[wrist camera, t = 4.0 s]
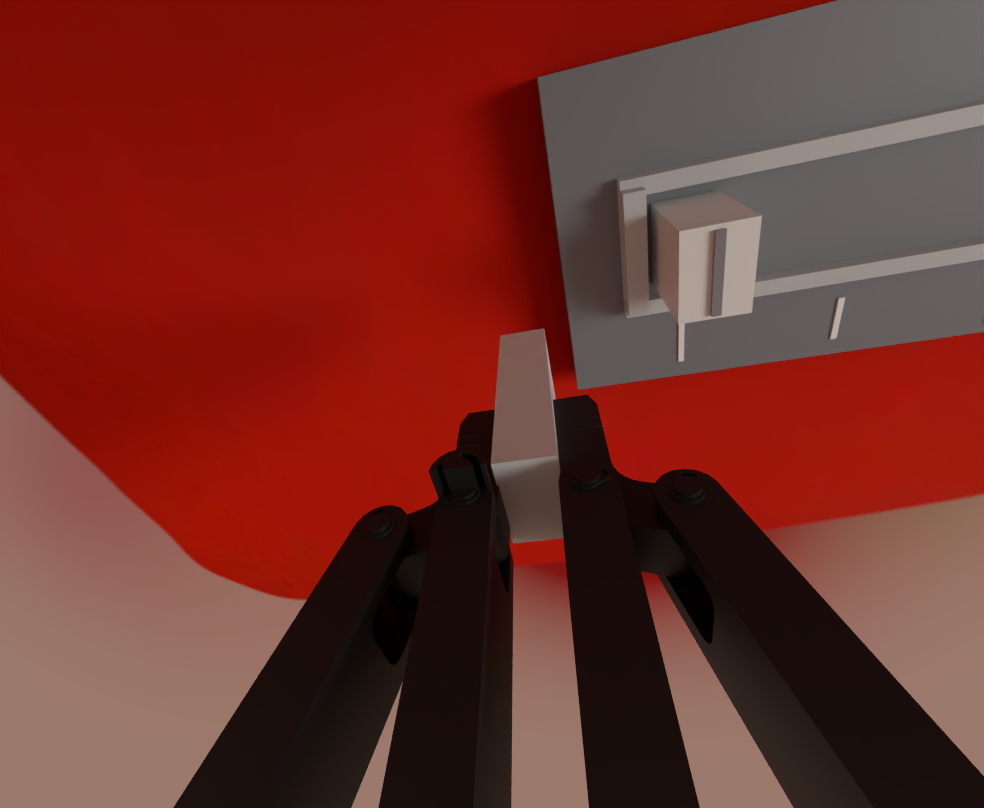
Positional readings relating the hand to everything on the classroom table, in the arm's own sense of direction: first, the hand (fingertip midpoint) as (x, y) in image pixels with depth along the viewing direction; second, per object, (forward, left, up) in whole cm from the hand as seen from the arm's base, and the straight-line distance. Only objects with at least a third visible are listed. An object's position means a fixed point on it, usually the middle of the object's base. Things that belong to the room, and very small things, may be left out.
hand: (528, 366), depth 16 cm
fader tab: (0, +8, -10) cm, 13 cm away
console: (0, +18, -12) cm, 22 cm away
